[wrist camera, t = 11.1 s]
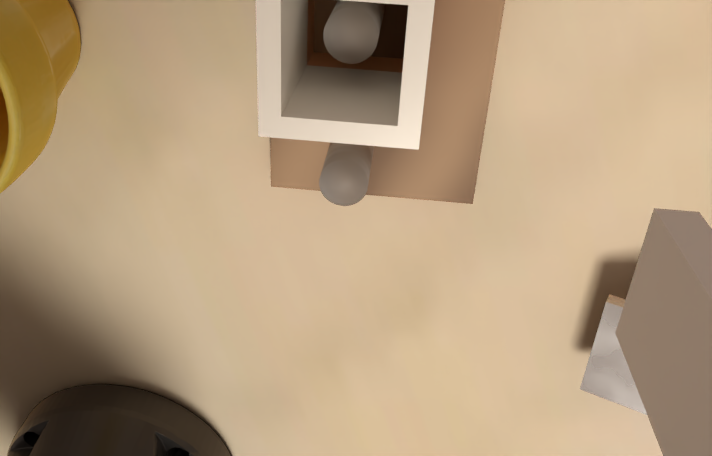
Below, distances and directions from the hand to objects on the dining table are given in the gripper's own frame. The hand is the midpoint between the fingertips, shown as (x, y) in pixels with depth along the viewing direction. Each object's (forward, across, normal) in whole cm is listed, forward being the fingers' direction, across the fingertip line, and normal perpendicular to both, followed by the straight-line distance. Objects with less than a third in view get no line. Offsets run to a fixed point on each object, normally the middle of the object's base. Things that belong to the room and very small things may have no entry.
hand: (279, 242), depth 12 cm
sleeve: (+19, 0, 0) cm, 19 cm away
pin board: (+21, +1, -3) cm, 21 cm away
